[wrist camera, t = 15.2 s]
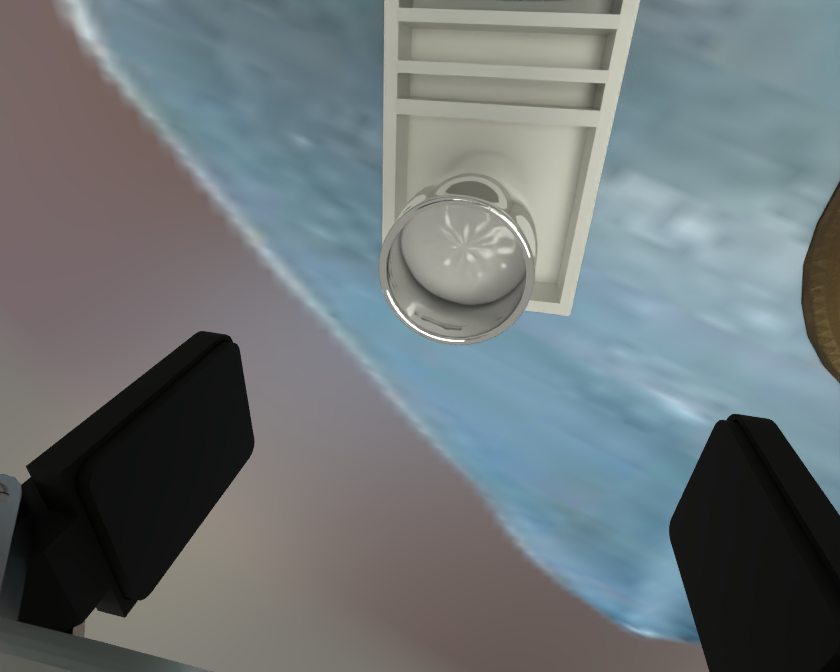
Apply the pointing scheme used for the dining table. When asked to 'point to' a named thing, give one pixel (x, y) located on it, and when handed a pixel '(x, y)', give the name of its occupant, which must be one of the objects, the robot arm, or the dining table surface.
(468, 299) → the beer glass
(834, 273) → the decorative disc
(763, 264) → the dining table surface
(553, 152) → the rack
